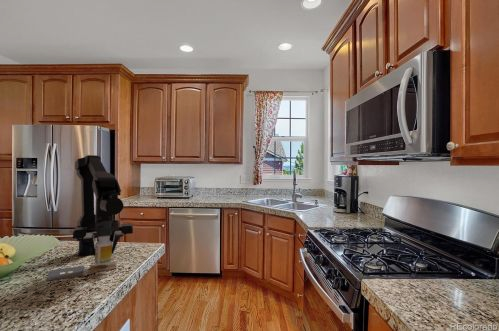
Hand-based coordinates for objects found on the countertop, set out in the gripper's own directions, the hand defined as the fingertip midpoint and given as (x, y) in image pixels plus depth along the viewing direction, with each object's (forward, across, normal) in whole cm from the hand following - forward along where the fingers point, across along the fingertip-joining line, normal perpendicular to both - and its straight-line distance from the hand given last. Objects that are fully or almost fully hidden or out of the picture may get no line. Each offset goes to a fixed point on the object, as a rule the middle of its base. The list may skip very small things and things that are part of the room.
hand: (103, 254), depth 98 cm
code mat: (+4, -11, -1) cm, 12 cm away
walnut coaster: (+4, 0, 0) cm, 4 cm away
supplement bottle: (+3, 0, 0) cm, 3 cm away
